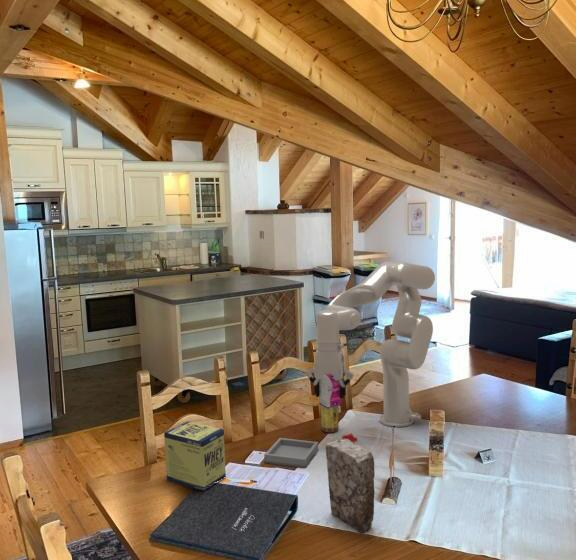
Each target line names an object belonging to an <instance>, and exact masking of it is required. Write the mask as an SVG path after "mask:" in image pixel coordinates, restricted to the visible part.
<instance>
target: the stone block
mask: <svg viewBox="0 0 576 560" xmlns="http://www.w3.org/2000/svg"><path fill="white" fill-rule="evenodd" d="M325 453H326V454H325V455H326V466H327V468H326V469H327V479H328V492H329V493H328V494H329V504H330V511H331V513H330V514H331V515H332V516H334V518H337V519H338V520H339V521H341V522H342V523H344V524H346V525H347V526H349V527H350V528H351V529H354V530H355V531H356V532H358V533H359V534H365V533H366V532H368V531H369V530H370V528H371V527H372V524H373V523H372V522H373V521H374V515H375V492H376V491H375V459H374V455H373V453H372V452H371V450H369V449H367V448H366V447H364V446H362V445H359V444H357V443H356V442H355V443H353V442H351V441H350V440H348V439H336V440H334V441H330V442H327V443H326V446H325Z"/></svg>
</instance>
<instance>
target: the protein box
mask: <svg viewBox="0 0 576 560" xmlns="http://www.w3.org/2000/svg"><path fill="white" fill-rule="evenodd" d="M224 431H225V430H224V429H223V428H220V427H219V428H218V427H214V426H210V425H207V424H206V425H205V424H200V423H197V422H192V421H185V422H184V423H183V422H182V423H181V424H179V425H177V426H175V427H172V428H171V429H168V430H167V431H164V433H163V436H164V454H165V471H166V472H165V473H166V481H170V482H173V483H174V484H175V483H176V484H178V485H181V486H184V487H188V488H191V489H194V487H196V486H198V487H201V488H205V487H207V486H208V485H210V484H212V483H214V482H217V481H219V480H221V479H223V478H224V477H226V478H227V476H226V475H227V474H226V471H227V470H226V457H225V455H226V451H225V450H226V449H225V434H224ZM224 479H225V478H224ZM224 479H223V480H224ZM221 481H222V480H221Z"/></svg>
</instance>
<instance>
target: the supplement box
mask: <svg viewBox="0 0 576 560" xmlns="http://www.w3.org/2000/svg"><path fill="white" fill-rule="evenodd" d="M340 387H341V385H340V383H339V382H338V381H336V380H334V377H333V375H323V379H322V380H319V397H318V399H319V400H318V401H319V404H318V405H320V406H321V405H322V406H324V407H325V408H327V409H329V408H333V407H337V406H338V407H342V405H343V404H342V403H343V401H342V399H341V398H340Z"/></svg>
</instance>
